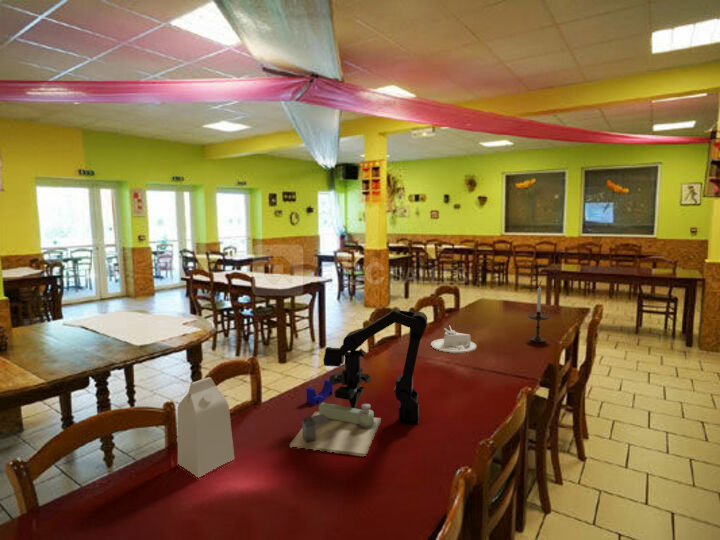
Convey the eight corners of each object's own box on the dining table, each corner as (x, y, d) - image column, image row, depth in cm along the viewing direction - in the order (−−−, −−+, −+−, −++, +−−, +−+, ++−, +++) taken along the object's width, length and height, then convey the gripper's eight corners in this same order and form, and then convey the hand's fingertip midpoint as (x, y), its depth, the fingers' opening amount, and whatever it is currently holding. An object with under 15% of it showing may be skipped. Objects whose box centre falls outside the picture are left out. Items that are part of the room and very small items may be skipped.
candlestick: (549, 339, 254) (551, 280, 249) (545, 344, 245) (548, 282, 240) (529, 336, 260) (531, 278, 255) (525, 341, 250) (527, 281, 246)
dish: (428, 351, 235) (428, 331, 234) (434, 339, 259) (434, 320, 257) (475, 355, 228) (475, 334, 227) (476, 342, 252) (477, 323, 250)
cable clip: (315, 405, 170) (314, 391, 169) (306, 402, 173) (306, 388, 172) (335, 395, 179) (335, 381, 179) (327, 392, 182) (326, 379, 181)
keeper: (324, 432, 147) (323, 413, 146) (328, 437, 143) (327, 418, 142) (302, 437, 144) (302, 418, 143) (306, 442, 140) (306, 423, 139)
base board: (380, 420, 156) (380, 417, 156) (365, 456, 133) (365, 453, 133) (315, 414, 163) (315, 410, 162) (289, 447, 139) (289, 443, 139)
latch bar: (376, 421, 153) (375, 403, 152) (370, 428, 148) (370, 410, 147) (324, 411, 161) (324, 394, 160) (317, 417, 156) (317, 400, 156)
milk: (213, 448, 139) (208, 370, 136) (234, 461, 132) (230, 378, 129) (177, 465, 130) (171, 382, 127) (198, 479, 123) (192, 391, 120)
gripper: (344, 356, 170) (344, 394, 172) (320, 372, 153) (321, 414, 155) (370, 360, 166) (370, 399, 168) (349, 377, 149) (350, 420, 151)
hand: (353, 407), depth 160 cm, fingers closed
